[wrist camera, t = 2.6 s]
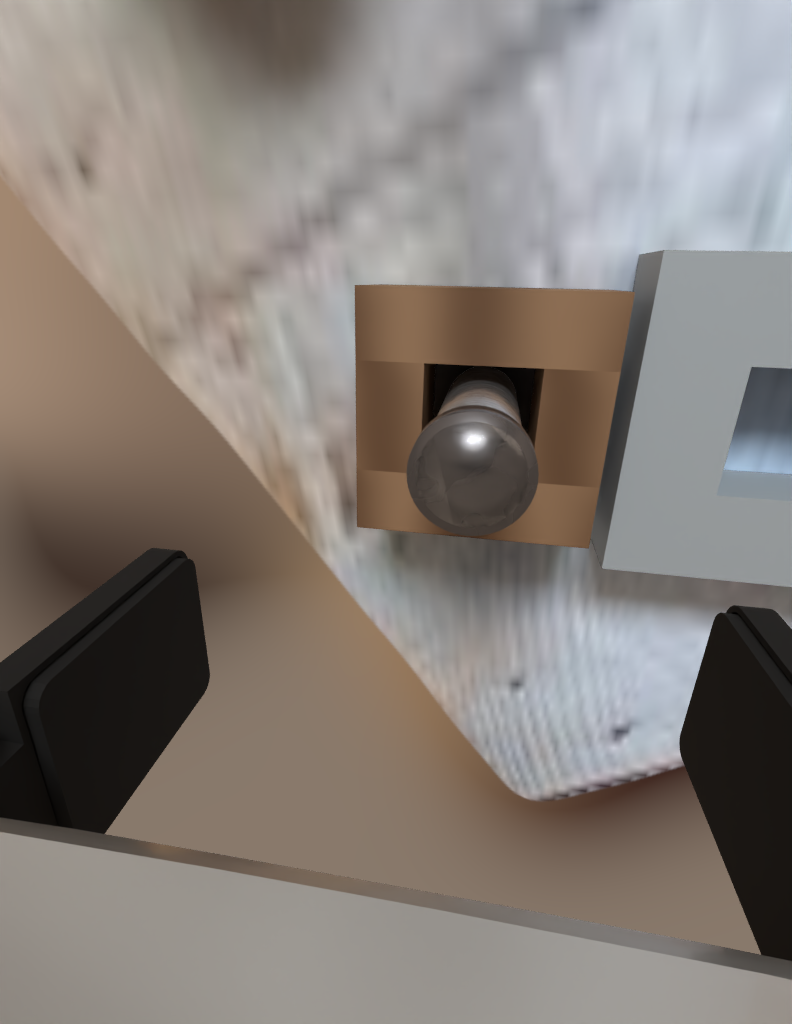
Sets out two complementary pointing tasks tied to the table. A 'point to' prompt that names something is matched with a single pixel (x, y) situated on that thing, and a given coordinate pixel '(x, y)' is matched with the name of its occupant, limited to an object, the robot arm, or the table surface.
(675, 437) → the socket block
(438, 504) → the lock pin
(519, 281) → the table surface
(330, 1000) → the robot arm
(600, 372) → the mount block
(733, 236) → the table surface
